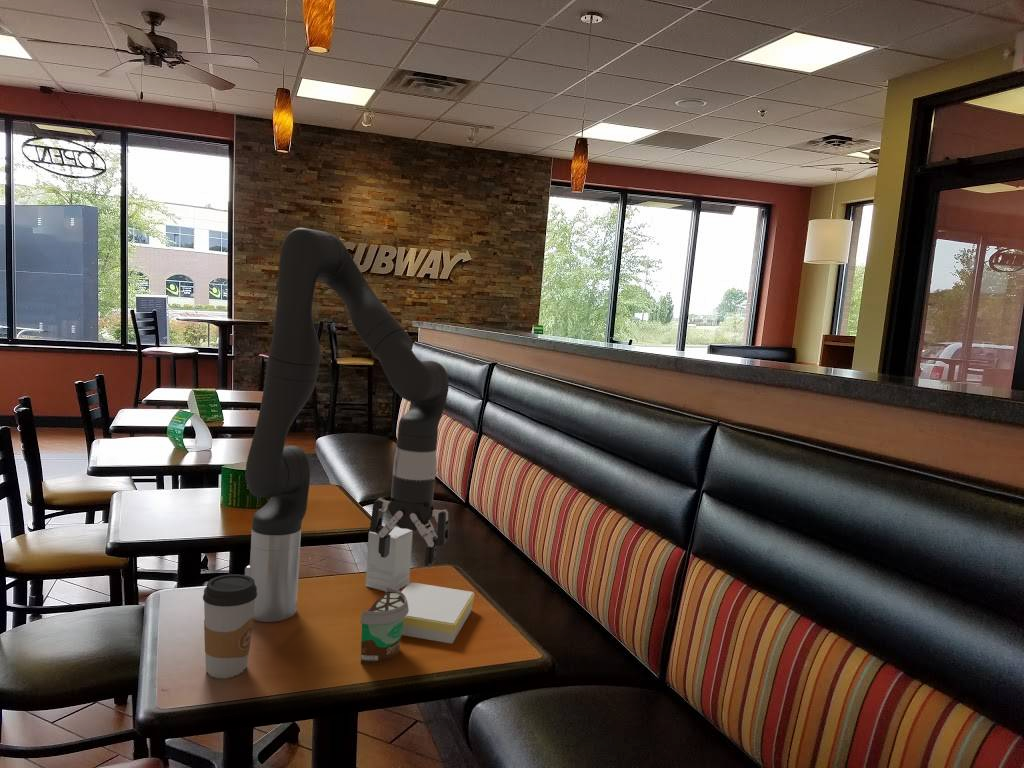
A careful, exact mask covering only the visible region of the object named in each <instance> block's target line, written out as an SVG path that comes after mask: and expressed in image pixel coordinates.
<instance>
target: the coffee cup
mask: <svg viewBox="0 0 1024 768" xmlns="http://www.w3.org/2000/svg"><path fill="white" fill-rule="evenodd" d="M256 590H257V587H256V585H255V581H254V579H253V578H251V577H249V576H246V575H245V574H240V573H239V574H237V573H236V574H234V573H233V574H224V575H219V576H215V577H213V578H211V579H209V580H208V581H207V583H206V587H204V589H203V595H202V600H203V604H204V606H203V608H204V609H203V611H204V620H203V628H204V629H203V630H204V632H203V635H204V653H205V670H206V672H207V674H208V675H209V676H210V677H212V678H214V677H215V679H221V678H222V679H230V678H229V677H231V678H234V677H233V676H235V675H237V674H239V673H241V672H242V671H243V670H244V669H245V670H246V668H247V667H248V660H249V652H250V648H251V642H252V641H251V640H252V632H253V625H254V620H253V619H254V618H253V614H254V606H255V598H256V597H257V591H256ZM245 670H244V671H245ZM244 671H243V672H244ZM243 672H242V673H243ZM242 673H241V674H242ZM239 675H240V674H239ZM237 676H238V675H237ZM235 677H236V676H235Z"/></svg>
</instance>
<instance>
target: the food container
mask: <svg viewBox="0 0 1024 768" xmlns="http://www.w3.org/2000/svg"><path fill="white" fill-rule="evenodd" d="M408 611H409V609H408V602H407V599H406V596H405V595H404V594H403V593H402V592H401V591H400V590H396V589H393V588H389V587H387V588H386V591H385V593H384V594H383V596H381V597H380V598H378V599H377V600H375V602H373V604H372V606H371V607H370V608H369V609H368V610H362V611H361V616H360V617H361V618H360V624H361V643H360V644H361V645H360V646H361V647H360V664H364V665H379V664H386V663H389V662H391V661H393V660H395V659H396V658H397V657H398V656H399V653H400V647H401V646H400V645H401V639H402V635H401V634H402V628H403V621H404V617H405V616H406V615H407V614H408Z"/></svg>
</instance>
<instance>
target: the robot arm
mask: <svg viewBox="0 0 1024 768" xmlns="http://www.w3.org/2000/svg"><path fill="white" fill-rule="evenodd" d="M277 279H278V280H277V297H276V298H277V299H276V306H275V307H276V308H275V314H274V323H273V331H272V337H271V338H272V339H271V342H270V348H269V353H268V357H267V365H266V370H265V377H264V379H265V381H264V386H263V391H262V397H261V401H260V406H259V407H260V409H259V414H258V417H257V421H256V426H255V430H254V434H253V437H252V440H251V441H252V442H251V444H250V448H249V452H248V455H247V460H246V464H245V483H246V485H247V489H248V490H249V492H250V494H251V495H252V496H254V497H256V498H259V499H267V498H269V500H267V501H268V502H267V503H265V504H264V505H263V506H261V507H260V508H259V509H257V511H255V513H254V514H253V515H252V519H251V520H252V522H251V538H250V555H249V556H250V557H249V564H248V565H246V566H245V568H244V575H246V576H249V577H251V578H253V579H254V581H255V585H256V587H257V590H256V591H257V597H256V598H255V606H254V614H253V618H254V619H253V621H256V622H262V623H263V622H264V623H271V622H272V623H275V622H281V621H284V620H285V621H286V620H288V619H290V618H292V617H294V616H295V614H296V613H297V605H298V604H297V603H298V588H299V573H300V572H299V571H300V556H301V555H300V554H301V540H302V539H301V537H302V525H303V524H302V523H303V519H304V517H305V515H306V513H307V508H308V500H309V491H310V483H311V482H310V481H311V465H310V461H309V457H308V455H307V454H306V452H305V451H304V450H303V449H302V448H301V447H299V446H296V445H286V446H285V443H286V441H287V435H288V432H289V430H290V428H291V426H292V425H293V423H294V421H295V420H296V417H297V416H298V415H299V414H300V412H301V411H302V410H303V408H304V406H305V405H306V404H307V402H308V401H309V400H310V398H311V395H312V394H313V392H314V390H315V387H316V384H317V379H318V375H319V369H320V362H321V354H322V353H321V352H322V351H321V346H320V345H321V344H320V341H319V336H318V332H317V329H316V326H315V323H314V318H313V300H314V293H315V287H316V283H317V282H323V283H324V284H325V285H327V286H328V287H329V288H331V290H332V291H333V292H335V294H336V295H338V297H339V298H340V299H341V300H342V302H343V304H344V305H345V307H346V309H347V312H348V314H349V317H350V321H351V324H352V326H353V329H354V330H355V332H356V334H357V335H358V337H359V338H360V339H361V341H362V342H363V344H364V345H365V346H366V347H367V349H368V350H369V351H370V352H371V353H372V354H373V355H374V357H375V358H376V359H377V360H378V361H379V362H380V365H381V367H382V370H383V373H384V374H385V376H386V377H387V379H388V381H389V383H390V385H391V387H392V388H393V389H394V391H395V392H396V393H397V394H398V395H399V396H400V397H401V398H402V399H403V400H406V402H410V405H409V409H408V410H407V412H406V413H405V414H403V415H402V416H401V418H400V419H399V422H398V427H397V439H396V440H397V441H396V448H395V449H396V450H395V454H394V459H393V468H392V479H391V490H390V493H391V494H390V496H391V497H390V500H386V499H385V498H384V497H379V498H378V499H376V500H374V501H373V504H372V511H371V518H370V525H369V532H370V531H371V532H375V533H377V534H378V535H379V549H378V551H379V554H381V557H383V558H385V557H387V556H388V555H389V550H390V538H391V535H389V533H390V532H391V531H392V530H393V529H394V528H395V527H399V528H402V529H409V530H413V532H416V531H418V533H419V535H420V536H421V537H423V539H424V540H425V542H426V544H427V545H426V546H425V547H426V548H425V554H424V555H425V556H424V557H425V559H424V566H425V567H428V568H429V567H431V565H433V563H435V562H436V560H437V551H438V546H443V545H444V544H445V543H447V542H448V541H449V538H450V537H449V535H450V534H449V533H450V510H449V509H448V508H444V509H435V508H434V505H433V503H434V494H435V484H436V482H435V481H436V474H437V463H438V462H437V460H438V459H437V447H438V436H439V435H438V434H439V424H440V421H441V418H442V416H443V413H444V409H445V406H446V402H447V398H448V394H449V393H448V392H449V386H450V385H449V376H448V375H449V374H448V372H447V371H446V369H445V367H444V366H443V365H442V364H441V363H439V362H438V361H433V360H425V361H424V360H423V361H421V360H420V359H418V357H417V356H416V354H415V353H414V352H413V348H414V347H413V346H414V343H413V340H412V338H411V336H410V335H409V333H408V332H407V330H405V329H404V327H403V326H402V325H401V324H400V323H399V321H398V320H397V319H396V318H395V317H394V316H393V314H392V313H390V311H389V310H388V309H387V308H386V306H385V305H384V304H383V302H382V301H381V300H380V299H379V297H378V296H377V295H376V293H375V292H374V290H373V288H372V287H371V286H370V284H369V283H368V281H367V280H366V278H365V277H364V275H363V273H362V272H361V270H360V269H359V267H358V265H357V264H356V262H355V260H354V259H353V257H352V255H351V254H350V252H349V250H348V249H347V247H346V246H345V244H344V243H343V242H342V240H341V239H340V238H339V237H338V236H336V235H334V234H332V233H330V232H327V231H322V230H317V229H311V228H307V227H306V228H305V227H297V228H294V229H292V230H291V231H290V232H289V233H288V234H287V235H286V236H285V238H284V239H283V242H282V245H281V249H280V253H279V262H278V277H277ZM387 510H388V511H389V513H390V515H391V518H390V519H389V520H388V521H387V523H386V524H384V525H385V526H384V525H383V520H384V519H383V518H384V512H386V511H387ZM432 517H434V519H435V521H436V523H437V533H436V532H435V528H434V525H433V524H432V522H431V519H432Z"/></svg>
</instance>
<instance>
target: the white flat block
mask: <svg viewBox="0 0 1024 768" xmlns="http://www.w3.org/2000/svg"><path fill="white" fill-rule="evenodd" d="M400 592H402V593H403V594H404V595H405V596H406V599H407V602H408V609H409V611H408V614H407V615H406V616H405V617H404V621H403V628H402V634H401V636H406V637H411V638H416V639H422V640H423V639H424V640H429V641H433V642H434V641H436V642H440V643H445V644H451V645H452V644H453V643H454V641H455V639H456V638H457V636H458V634H459V633H460V631H461V629H462V627H464V625H465V622H466V620H467V619H468V617H469V615H470V614H471V612H472V611H471V610H472V609H473V603H474V600H475V592H473V591H470V590H463V589H462V590H461V589H455V588H451V587H443V586H437V585H432V584H425V583H418V582H413V581H409V584H407V585H406V586H404V587H403V588H402V591H400Z"/></svg>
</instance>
